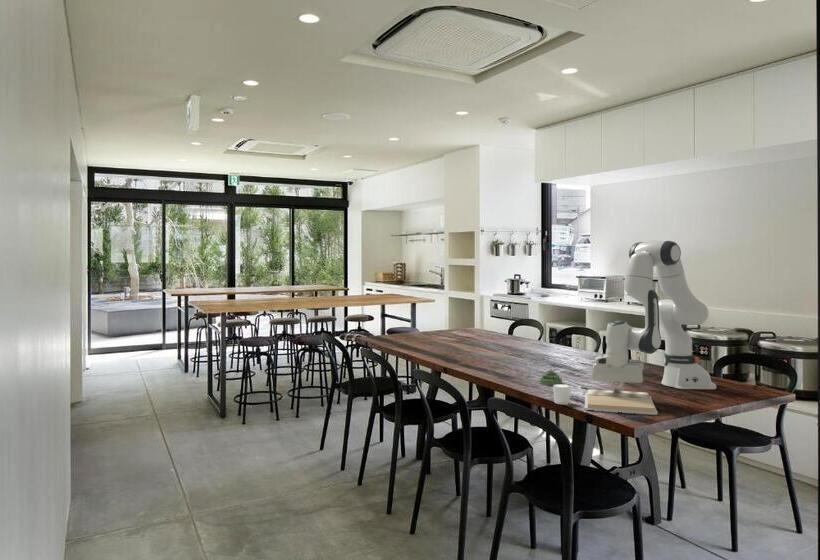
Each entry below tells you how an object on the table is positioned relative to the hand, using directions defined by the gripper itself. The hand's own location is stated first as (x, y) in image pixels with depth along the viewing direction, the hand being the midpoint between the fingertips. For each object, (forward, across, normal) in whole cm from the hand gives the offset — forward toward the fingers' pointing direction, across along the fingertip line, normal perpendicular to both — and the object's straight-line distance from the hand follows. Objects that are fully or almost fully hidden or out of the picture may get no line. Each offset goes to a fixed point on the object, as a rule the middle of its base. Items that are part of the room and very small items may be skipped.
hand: (616, 392), depth 241 cm
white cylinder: (+3, +22, +13) cm, 25 cm away
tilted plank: (+2, 0, +2) cm, 3 cm away
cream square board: (+3, 0, +10) cm, 10 cm away
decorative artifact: (+3, +28, -22) cm, 36 cm away
